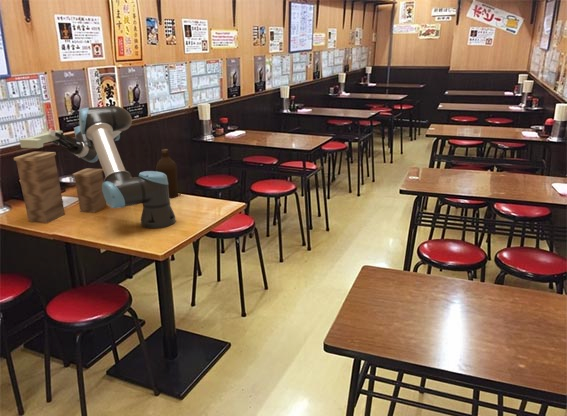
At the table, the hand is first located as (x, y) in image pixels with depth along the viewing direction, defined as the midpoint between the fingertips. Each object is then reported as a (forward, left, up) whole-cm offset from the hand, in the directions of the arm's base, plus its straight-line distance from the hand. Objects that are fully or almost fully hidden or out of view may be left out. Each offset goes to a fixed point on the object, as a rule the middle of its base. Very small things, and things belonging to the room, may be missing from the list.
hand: (45, 131), depth 210 cm
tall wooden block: (-7, +7, -39) cm, 40 cm away
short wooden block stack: (-6, -14, -39) cm, 42 cm away
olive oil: (-7, -52, -39) cm, 66 cm away
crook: (-4, 0, -5) cm, 6 cm away
